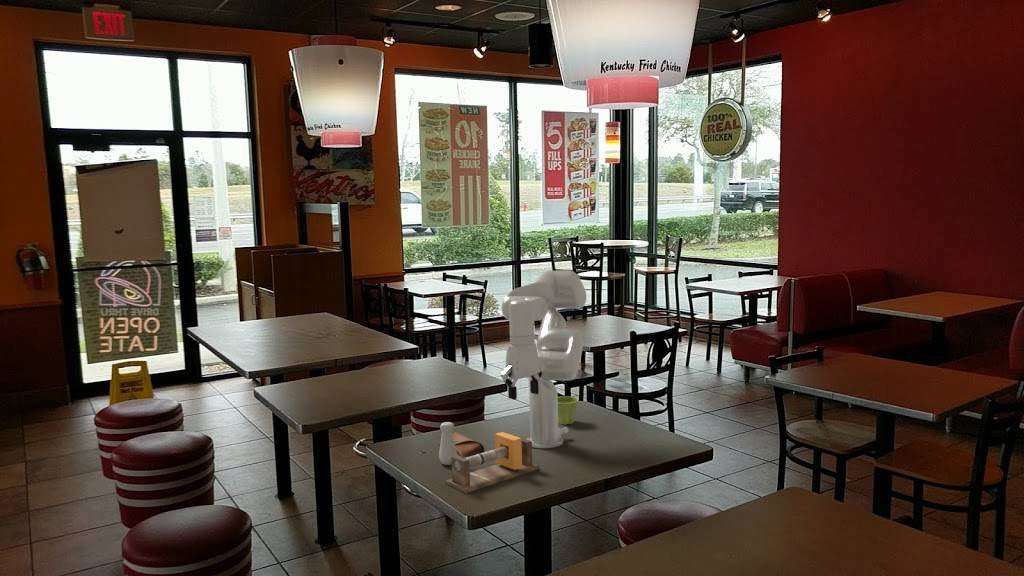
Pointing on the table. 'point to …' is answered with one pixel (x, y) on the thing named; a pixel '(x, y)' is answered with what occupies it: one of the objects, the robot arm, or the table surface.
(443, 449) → the salt shaker
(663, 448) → the table surface
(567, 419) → the plant pot
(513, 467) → the collar
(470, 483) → the pipe stand
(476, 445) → the sunglasses case
